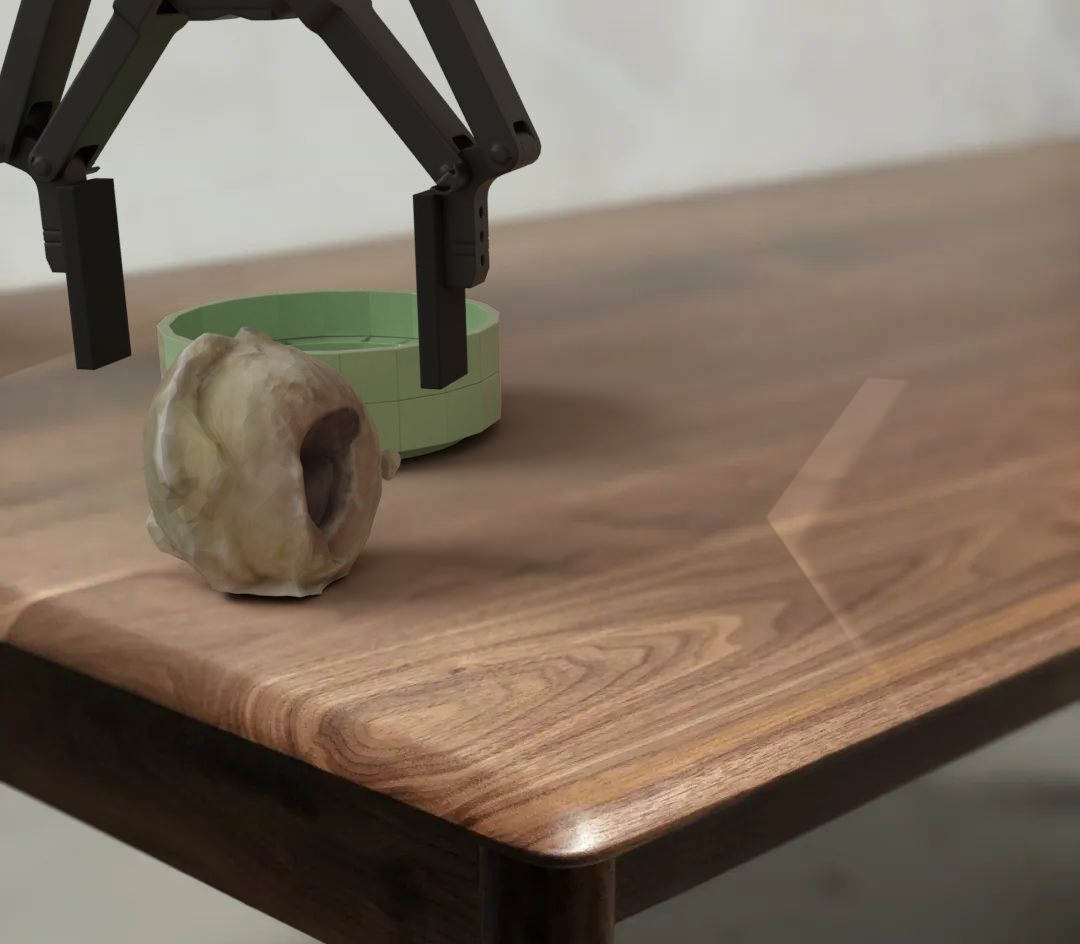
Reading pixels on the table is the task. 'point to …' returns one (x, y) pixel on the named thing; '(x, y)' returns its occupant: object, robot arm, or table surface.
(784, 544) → the table surface
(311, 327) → the bowl
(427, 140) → the robot arm
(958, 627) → the table surface
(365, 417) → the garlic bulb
